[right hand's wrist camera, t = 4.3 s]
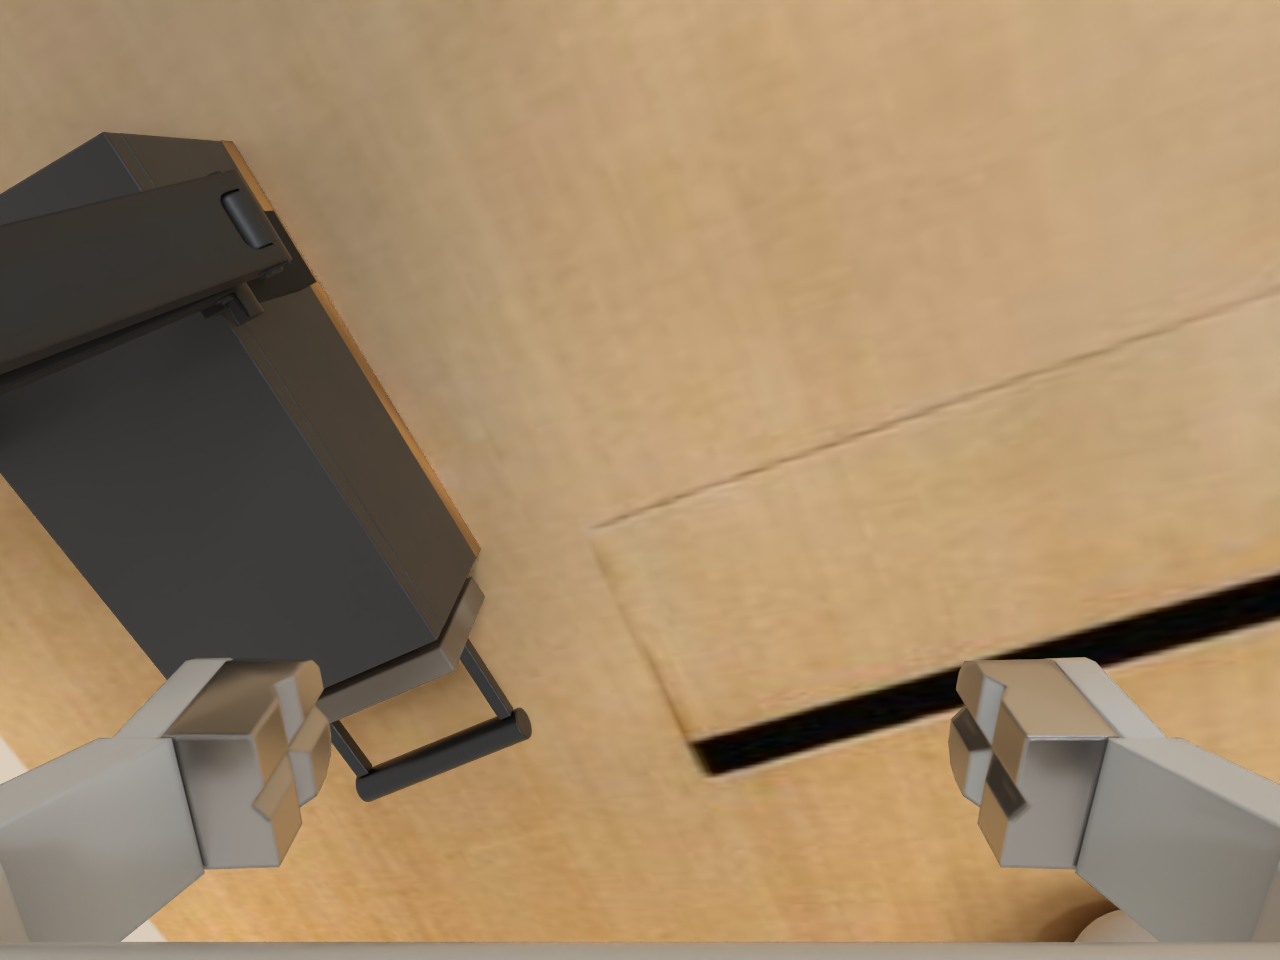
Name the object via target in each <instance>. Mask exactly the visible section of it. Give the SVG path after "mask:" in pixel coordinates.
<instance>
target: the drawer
mask: <svg viewBox="0 0 1280 960" xmlns="http://www.w3.org/2000/svg"><path fill="white" fill-rule="evenodd" d="M483 600H484V594H483V593H482V591H481V589H480V588H479V586H478V584H477V583H476V581H475V580H474V578H473V577H470V578H467V579H466V580H465V582H464V584H463V586H462V588H461V590H460V593H459V595H458V597H457V599H456V601H455V603H454V605H453V607H452V610H451V612H450V614H449V616H448V618H447V620H446V622H445V624H444V627H443V628H442V630H441V633H440V635H439V637H438V639H437V640H435V641H433V642H431V643H428V644H426V645H424V646H421V647H419V648H417V649H415V650H412V651H410V652H408V653H405V654H403V655H401V656H398V657H396V658H394V659H391V660H389V661H387V662H384V663H382V664H380V665H377V666H375V667H373V668H370V669H368V670H366V671H363V672H361V673H359V674H357V675H354V676H352V677H350V678H347V679H345V680H343V681H340V682H338V683H336V684H333V685H331V686H329V687H326V688H324V690H323V692H322V693H321V695H320V697H319V698H318V700H317V702H316V703H315V706H316V707H317V708H318V709H319V710H320V711H321V712H322V713H323V714H324V715H325V716H326V717H327V718H328V719H329V724H330V731H331V742H332V743H333V745H334V746H335V747H336V749H337V750H338V751H339V753H340V754H341V755H342V757H343V758H344V759H345V761H346V762H347V763H348V765H349V766H350V767H351V769H352V770H353V771H354V773H355V774H356V775H357V778H356V789H357V792H358V794H359V796H360V798H361V799H362V800H364V801H366V802H370V801H373V800H376V799H378V798H381V797H383V796H386V795H388V794H391V793H393V792H396V791H398V790H401V789H403V788H406V787H408V786H411V785H413V784H416V783H418V782H421V781H423V780H426V779H428V778H431V777H433V776H436V775H438V774H441V773H443V772H446V771H448V770H451V769H453V768H456V767H458V766H461V765H463V764H466V763H468V762H471V761H474V760H476V759H479V758H481V757H484V756H486V755H489V754H491V753H494V752H496V751H499V750H501V749H504V748H506V747H509V746H511V745H514V744H516V743H519V742H521V741H524V740H526V739H529V738H530V736H531V733H532V729H531V723H530V720H529V718H528V716H527V714H526V712H525V711H524V710H523V709H522V708H517V709H514V710H513V707H512V706H511V704H510V703H509V701H508V699H507V698H506V696H505V695H504V693H503V692H502V690H501V689H500V687H499V685H498V684H497V682H496V681H495V679H494V678H493V676H492V675H491V673H490V671H489V670H488V668H487V667H486V665H485V664H484V662H483V661H482V659H481V657H480V656H479V654H478V653H477V651H476V650H475V648H474V646H473V645H472V643H471V642H470V640H469V639H468V637H469V634H470V632H471V629H472V627H473V624H474V622H475V619H476V617H477V614H478V612H479V609H480V607H481V605H482V602H483ZM459 659H460V660H461V661H462V663H463V664H464V666H465V667H466V669H467V670H468V672H469V673H470V675H471V677H472V678H473V680H474V681H475V683H476V684H477V686H478V687H479V689H480V690H481V692H482V693H483V695H484V696H485V698H486V700H487V701H488V703H489V704H490V706H491V707H492V709H493V710H494V712H495V713H496V715H497V717H494V718H492V719H489V720H487V721H485V722H482V723H480V724H477V725H475V726H472V727H470V728H467V729H465V730H462V731H460V732H457V733H455V734H453V735H450V736H448V737H445V738H443V739H440V740H438V741H435V742H433V743H430V744H428V745H425V746H423V747H421V748H418V749H416V750H413V751H411V752H408V753H406V754H403V755H401V756H398V757H396V758H394V759H391V760H389V761H386V762H384V763H381V764H379V765H376V766H374V767H372V764H371V763H370V761H369V760H368V759H367V757H366V756H365V755H364V753H363V752H362V751H361V749H360V748H359V746H358V745H357V744H356V742H355V741H354V740H353V738H352V737H351V736H350V734H349V733H348V731H347V730H346V729H345V727H344V726H343V725H342V723H341V722H340V721H339V719H341V718H344V717H346V716H348V715H351V714H353V713H356V712H358V711H360V710H363V709H365V708H367V707H370V706H372V705H375V704H377V703H379V702H382V701H384V700H386V699H389V698H391V697H394V696H396V695H398V694H401V693H403V692H405V691H408V690H410V689H412V688H415V687H417V686H420V685H422V684H424V683H427V682H429V681H431V680H434V679H436V678H439V677H441V676H443V675H446V674H448V673H450V672H453V671H454V670H455V669H456V666H457V664H458V661H459Z"/></svg>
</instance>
